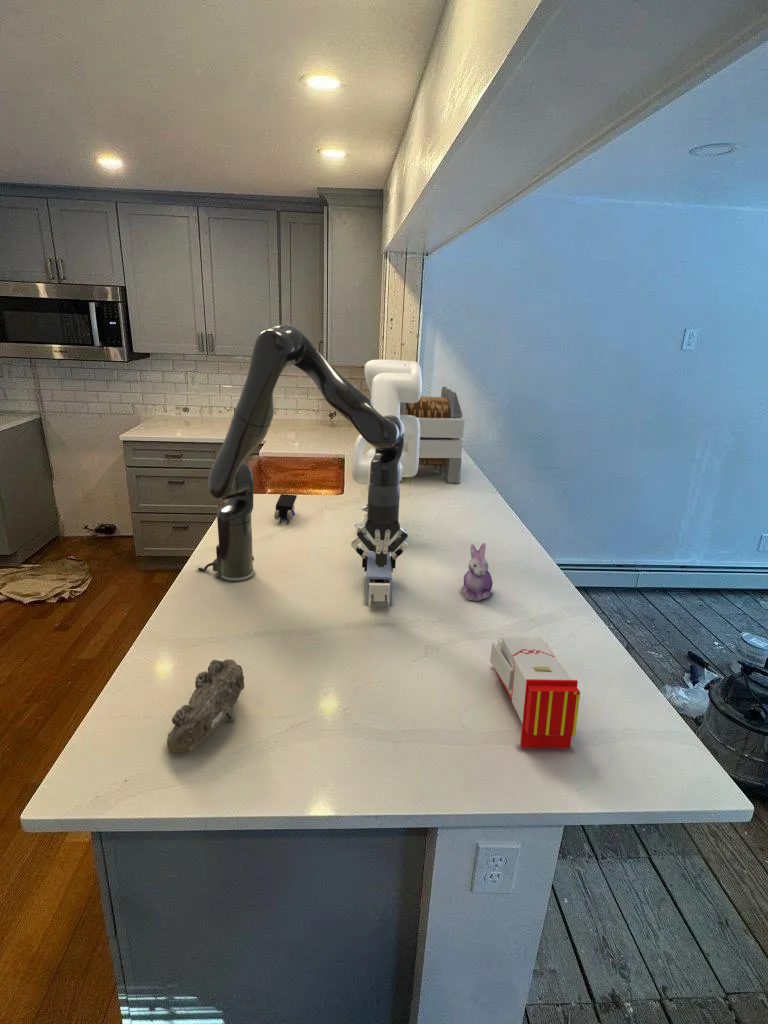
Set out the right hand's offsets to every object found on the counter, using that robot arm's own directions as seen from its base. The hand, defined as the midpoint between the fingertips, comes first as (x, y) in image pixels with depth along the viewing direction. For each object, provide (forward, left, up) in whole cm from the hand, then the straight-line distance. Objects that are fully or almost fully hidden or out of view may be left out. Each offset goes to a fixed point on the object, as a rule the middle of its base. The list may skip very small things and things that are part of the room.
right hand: (378, 569), depth 161 cm
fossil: (-13, -64, -5) cm, 65 cm away
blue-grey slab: (+1, -3, -5) cm, 6 cm away
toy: (+44, -38, -5) cm, 58 cm away
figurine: (+28, +5, -5) cm, 28 cm away
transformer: (-16, +120, -5) cm, 121 cm away
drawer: (+3, -9, -4) cm, 10 cm away
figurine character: (-47, +38, -5) cm, 61 cm away
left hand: (+5, -16, +9) cm, 19 cm away
